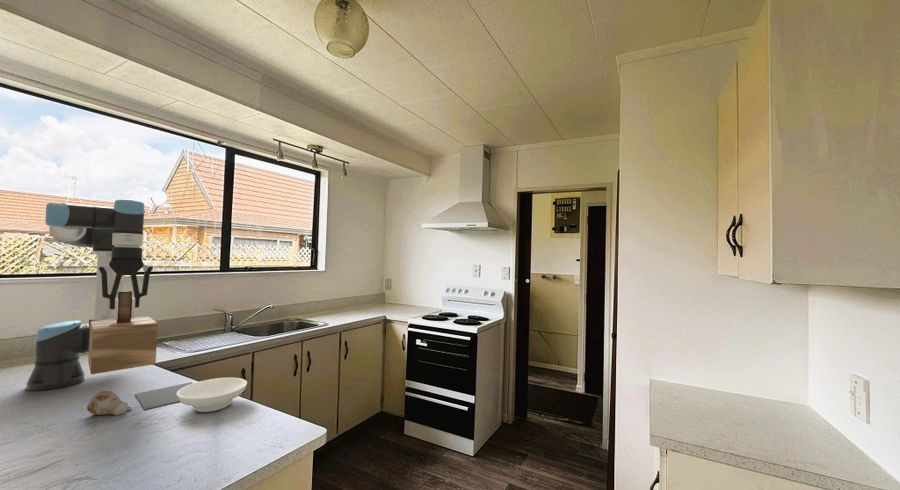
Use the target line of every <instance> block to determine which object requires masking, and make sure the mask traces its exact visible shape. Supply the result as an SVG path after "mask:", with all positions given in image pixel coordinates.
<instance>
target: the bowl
mask: <svg viewBox="0 0 900 490" xmlns="http://www.w3.org/2000/svg"><path fill="white" fill-rule="evenodd" d="M192 383H193V384H190V385H187V386H185V387H183V388H181V389H180V390H178V391H177V397H178V399H179V401H180V402H179V403H182V404H183V405H185V406H191V407H192V408H193V409H194V411H196V412H199V413H209V412H214V411H215V412H216V411H218V410H222V409H225V408H227V407H228V406H229V405H230V404H231V402H232V401H233V400H234V399H236V398H238V397H240V396H241V395H242V393H243V392H244V391H245V390H246V388H247V385H248V381H247V380H246V379H244V378H241V377H217V378H210V379H206V380H205V379H204V380H200V381H197V382H192Z"/></svg>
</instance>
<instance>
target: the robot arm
mask: <svg viewBox="0 0 900 490" xmlns="http://www.w3.org/2000/svg"><path fill="white" fill-rule="evenodd" d="M145 213H146V210H145V204H144V202H143V201H140V200H137V199H135V200H134V199H127V198H123V199H121V198H120V199H118V198H117V199H115V201H114V204H113V207H112V206H99V205H87V204H86V205H85V204H77V203H75V204H74V203H65V202H48V203H47V204H46V206H45V219H44V220H45V225H46V226H49V228H48V229H49V234H50V235H51V237H52V238H54V239H55V240H56V241H58V242H60V243H63V244H66V245H69V246H74V247H79V248H80V247H81V248H92V253H93V254H94V255H96V257H97V258H96V259H97V261H96V278H95V279H96V281H95V300H94V314H93V315H92V316H91V317H89V318H88V323H82V321H81V320H77V319H76V320H68V321H61V322H57V323H52V324H47V325H45V326H41V327H40V328H39V329H37V332H36V339H35V343H36V344H35V345H36V346H35V357H34V367H33V370H32V372H31V374H30V375H29V377H28V379H27V381H26V384H25V387H26V390H27V391H33V392H34V391H46V390H55V389H56V390H57V389H60V388H61V389H62V388H66V387H69V386H73V385H76V384H79V383H82V382H83V381H84V380H85V371H84V369H83V367H82V363H81V362H80V354H86V353H88V354H89V338H90V321H99V320H111V319H114V320H118V301H119V299H118V291H125V276H130V280H131V287H132V293H133V297H132V305H131V319H132V318H135V312H136V308H139V307H140V299H141V297H142V298H143V297H145V296H147V295H148V290H149V281H150V275H151V273H152V271H153V269H154V267H153V266H149V265H146V264H144V261H143V248H142V246H143V245H144V242H143V240H144V221H145V220H144V219H145ZM141 269H143V270H142V271H143V272H144V273H143V277H142V278H143V280H142V285H141V292H140V289H139V283H138V277H137V276H138V275H137V273H138V272H139V271H140V270H141Z"/></svg>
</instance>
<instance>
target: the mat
mask: <svg viewBox="0 0 900 490" xmlns="http://www.w3.org/2000/svg"><path fill="white" fill-rule="evenodd" d="M193 383H194V382H192V381H191V382H185V383H181V384H175V385H171V386H166V387H161V388H156V389H152V390H151V389H150V390H147V391H141V392H136V393H134V396H135V398H136V399H137V401H138V402H139V405H140V406H141V407H142V408H143V410H144V411H148V410H151V409H155V408H160V407H163V406H168V405H172V404H173V405H174V404H177V403H181V402H180V401H179V399H178V397H177V391H178V390H180V389H181V388H183V387H185V386H187V385H190V384H193Z"/></svg>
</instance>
